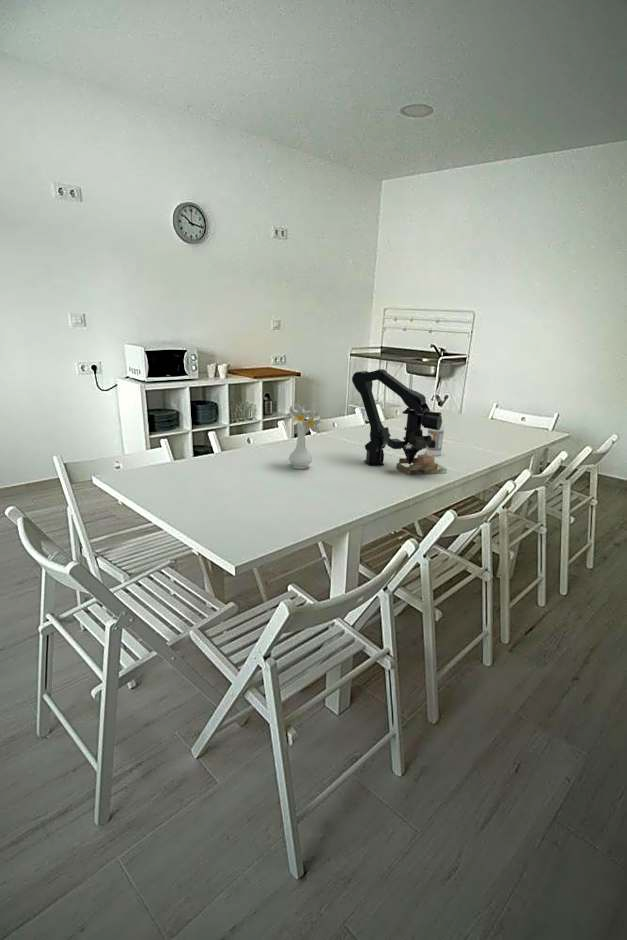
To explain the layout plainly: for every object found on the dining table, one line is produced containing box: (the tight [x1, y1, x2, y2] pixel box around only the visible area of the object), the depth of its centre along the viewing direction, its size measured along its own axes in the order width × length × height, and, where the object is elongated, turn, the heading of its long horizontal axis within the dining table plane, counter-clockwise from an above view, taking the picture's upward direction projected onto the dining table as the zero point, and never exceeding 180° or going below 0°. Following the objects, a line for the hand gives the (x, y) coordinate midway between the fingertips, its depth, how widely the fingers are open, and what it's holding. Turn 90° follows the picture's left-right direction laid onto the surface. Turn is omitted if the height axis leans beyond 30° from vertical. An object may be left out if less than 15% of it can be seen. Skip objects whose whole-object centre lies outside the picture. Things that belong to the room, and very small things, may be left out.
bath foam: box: [425, 410, 445, 457], centre depth 220 cm, size 7×7×20 cm
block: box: [416, 453, 436, 464], centre depth 197 cm, size 5×5×4 cm
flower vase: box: [284, 402, 322, 470], centre depth 190 cm, size 13×18×25 cm
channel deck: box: [396, 457, 448, 476], centre depth 197 cm, size 18×10×4 cm, turn 107°
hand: (409, 463), depth 195 cm, fingers closed
